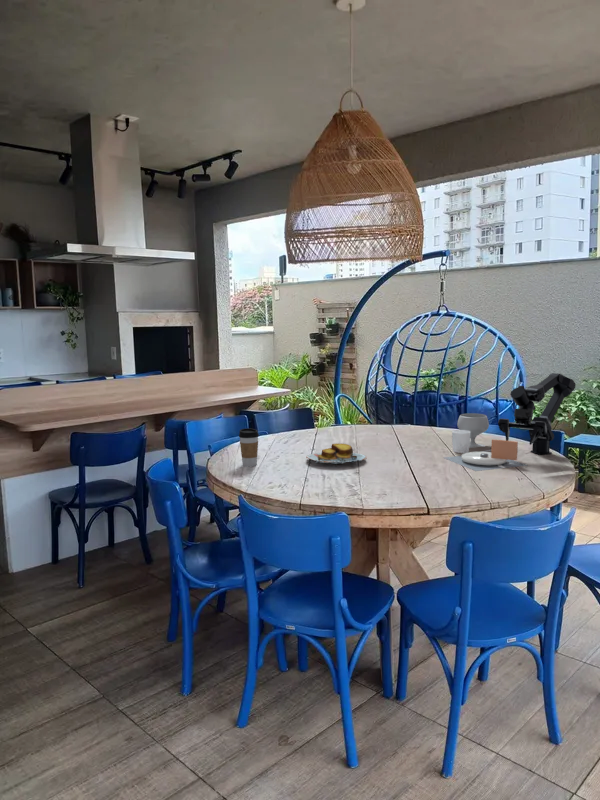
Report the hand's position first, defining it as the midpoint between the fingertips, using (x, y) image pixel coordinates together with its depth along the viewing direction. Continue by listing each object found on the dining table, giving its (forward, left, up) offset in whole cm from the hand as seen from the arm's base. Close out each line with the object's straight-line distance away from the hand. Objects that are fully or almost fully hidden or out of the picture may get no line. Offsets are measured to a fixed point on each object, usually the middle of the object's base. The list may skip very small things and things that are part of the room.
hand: (518, 443), depth 251 cm
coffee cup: (+103, -41, -9) cm, 111 cm away
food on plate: (+67, -33, -9) cm, 75 cm away
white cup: (+11, -25, -9) cm, 28 cm away
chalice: (-1, -34, -9) cm, 35 cm away
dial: (+13, -5, -7) cm, 16 cm away
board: (+13, -5, -9) cm, 16 cm away
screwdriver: (-3, -21, -9) cm, 23 cm away
